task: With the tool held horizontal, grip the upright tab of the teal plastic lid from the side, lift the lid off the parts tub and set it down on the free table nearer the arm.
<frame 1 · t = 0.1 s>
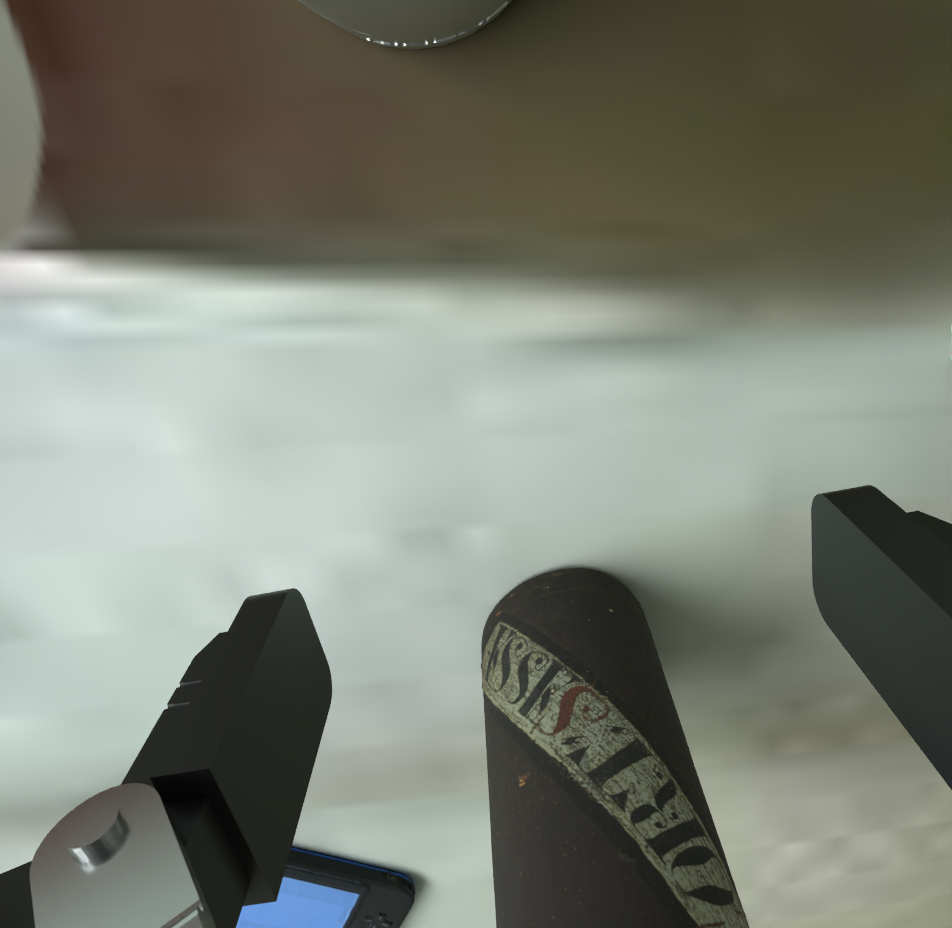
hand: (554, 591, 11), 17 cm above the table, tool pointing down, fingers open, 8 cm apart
handheld game console: (273, 900, 44), on the table
container: (563, 634, 34), on the table
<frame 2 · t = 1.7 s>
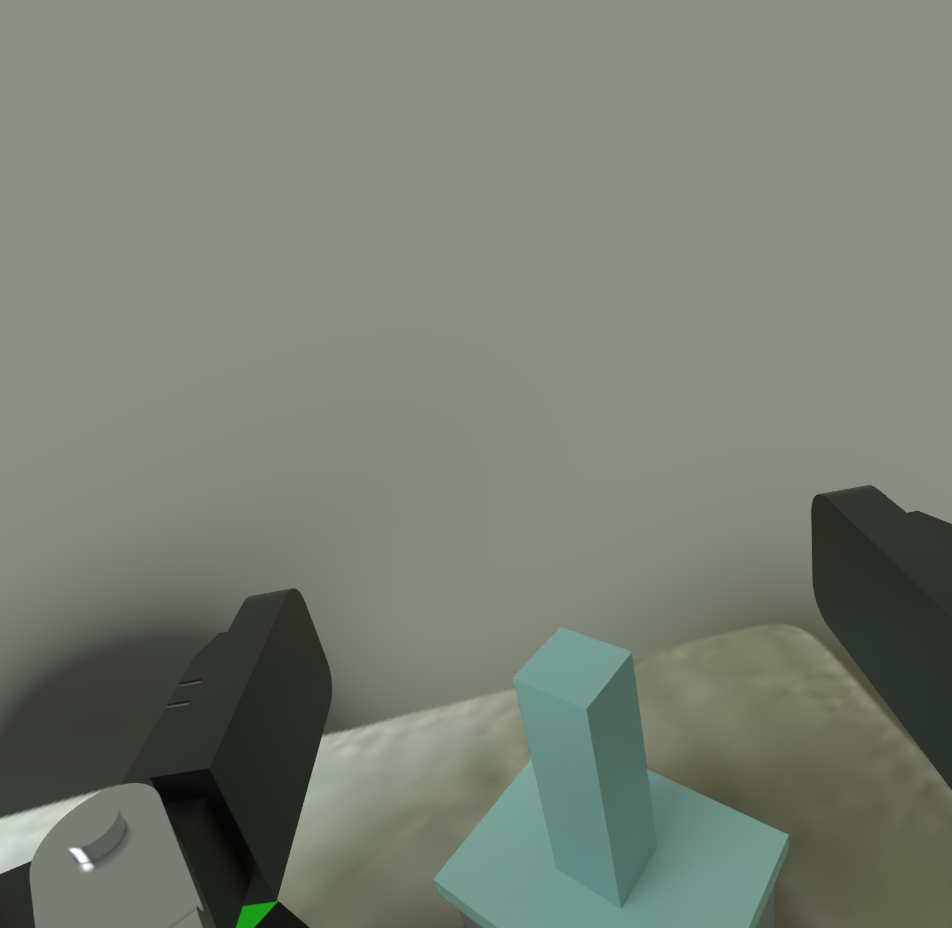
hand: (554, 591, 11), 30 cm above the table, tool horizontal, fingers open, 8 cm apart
lid: (609, 872, 30), point 7 cm above the table, touching tub
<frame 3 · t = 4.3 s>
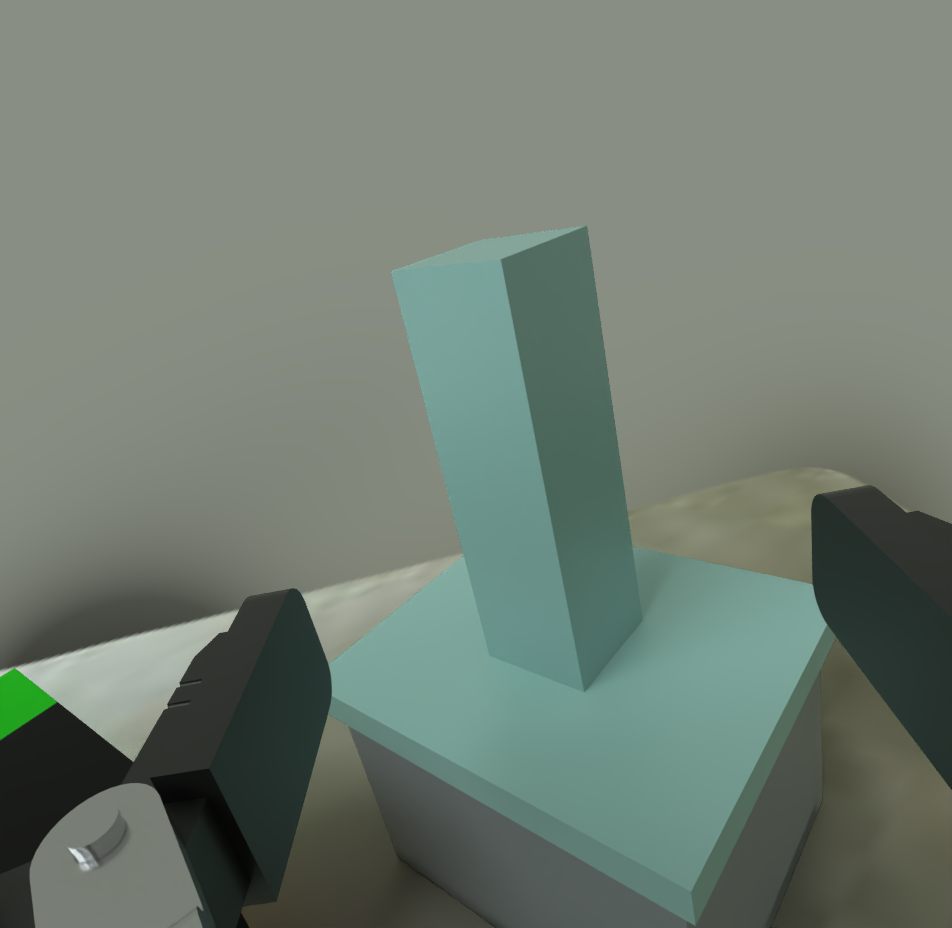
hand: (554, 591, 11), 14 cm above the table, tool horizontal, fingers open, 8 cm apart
lid: (571, 665, 20), point 7 cm above the table, touching tub
tub: (603, 829, 23), on the table
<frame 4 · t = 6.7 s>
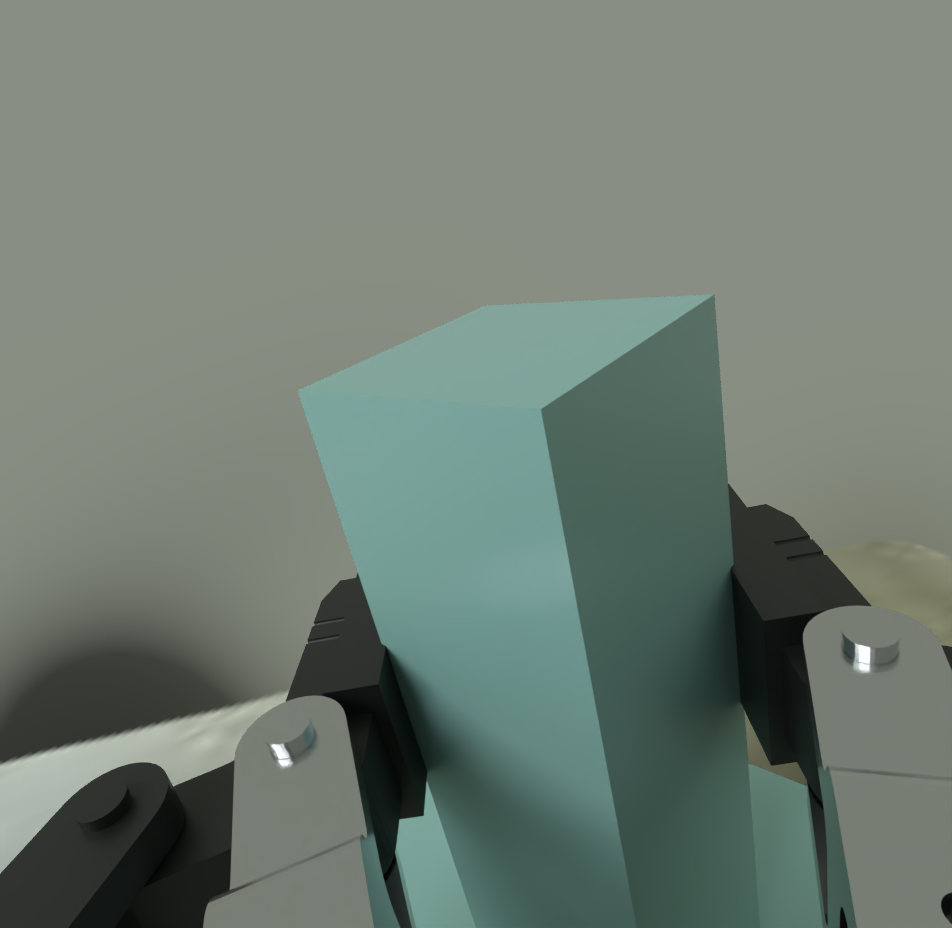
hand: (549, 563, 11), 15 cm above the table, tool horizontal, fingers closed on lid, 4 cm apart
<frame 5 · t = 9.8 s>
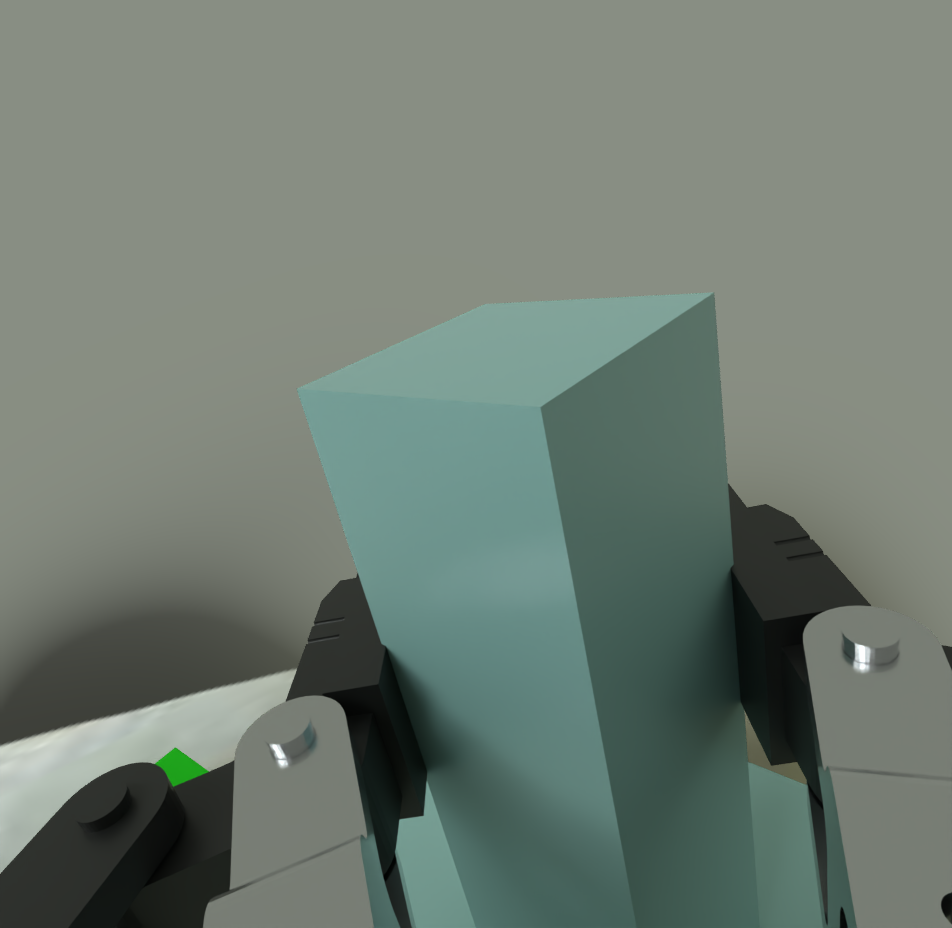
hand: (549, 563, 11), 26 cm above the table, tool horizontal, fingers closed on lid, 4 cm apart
when the fingers open (9 cm above the table, at t = 13.2 s): lid drops 2 cm, on the table.
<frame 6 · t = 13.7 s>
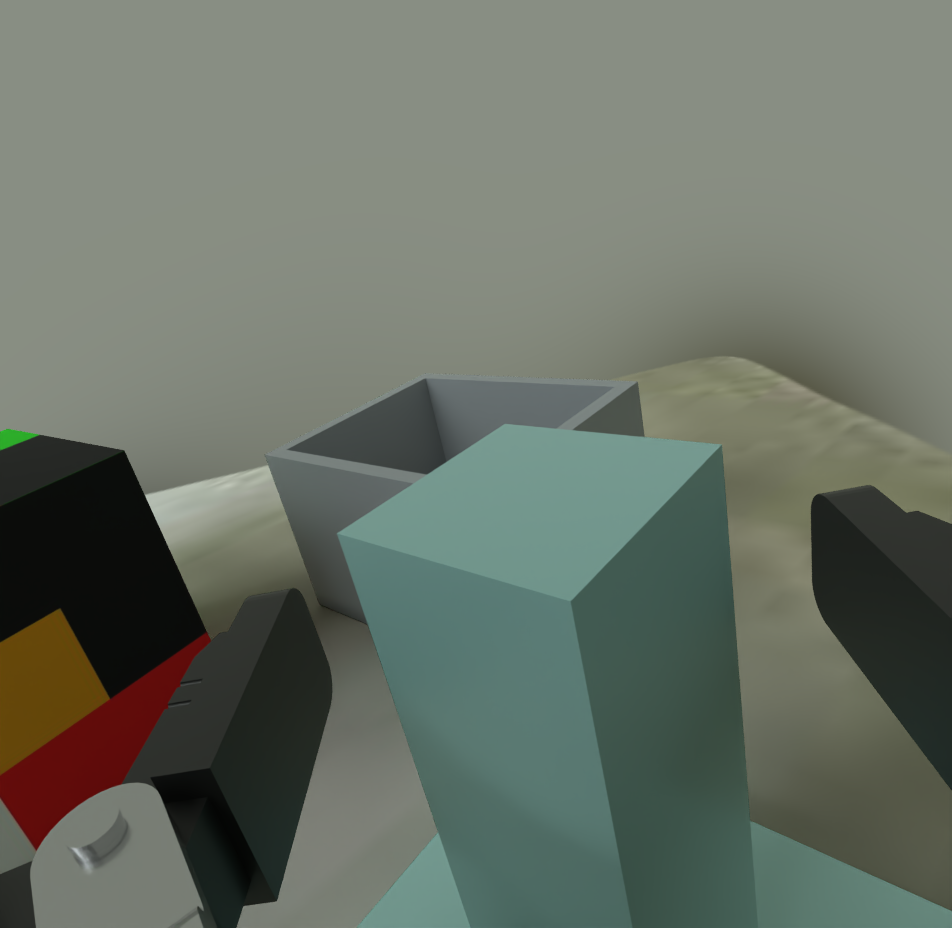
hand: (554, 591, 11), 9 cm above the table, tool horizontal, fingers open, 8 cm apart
puzzle toy: (44, 763, 24), on the table
tub: (484, 575, 28), on the table
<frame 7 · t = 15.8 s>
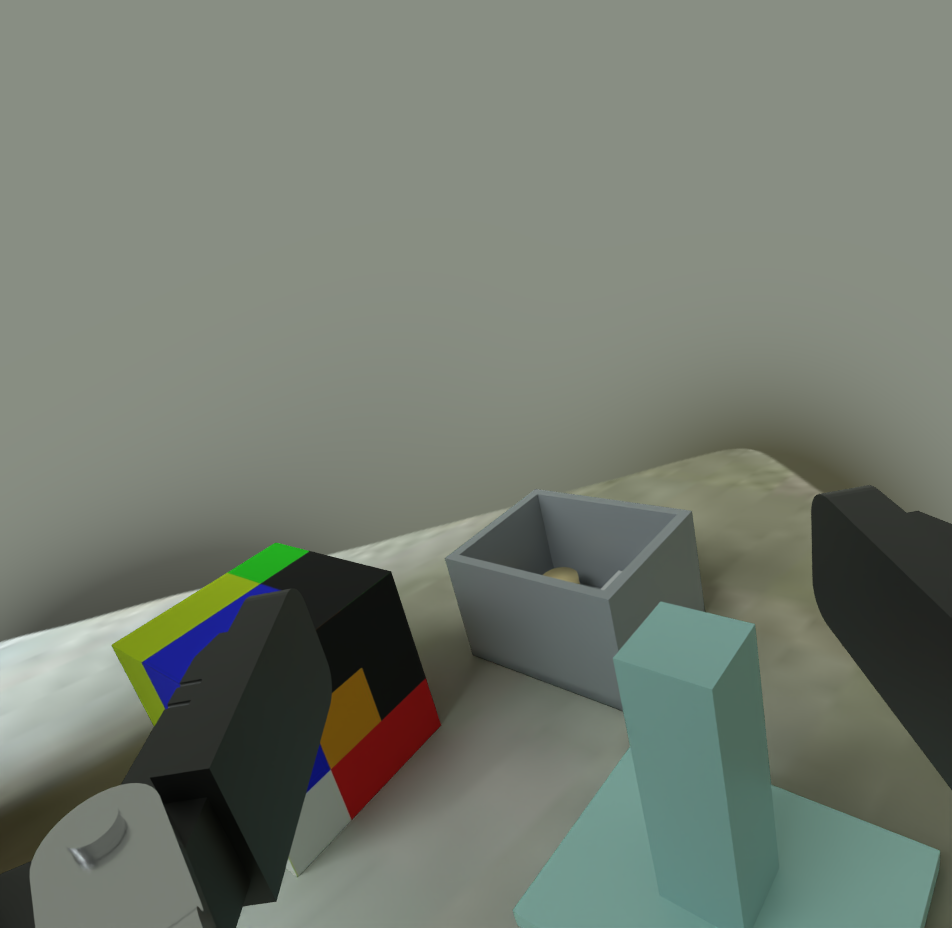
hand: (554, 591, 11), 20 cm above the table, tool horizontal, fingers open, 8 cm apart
puzzle toy: (316, 762, 37), on the table
lid: (722, 899, 26), on the table
tub: (586, 634, 41), on the table
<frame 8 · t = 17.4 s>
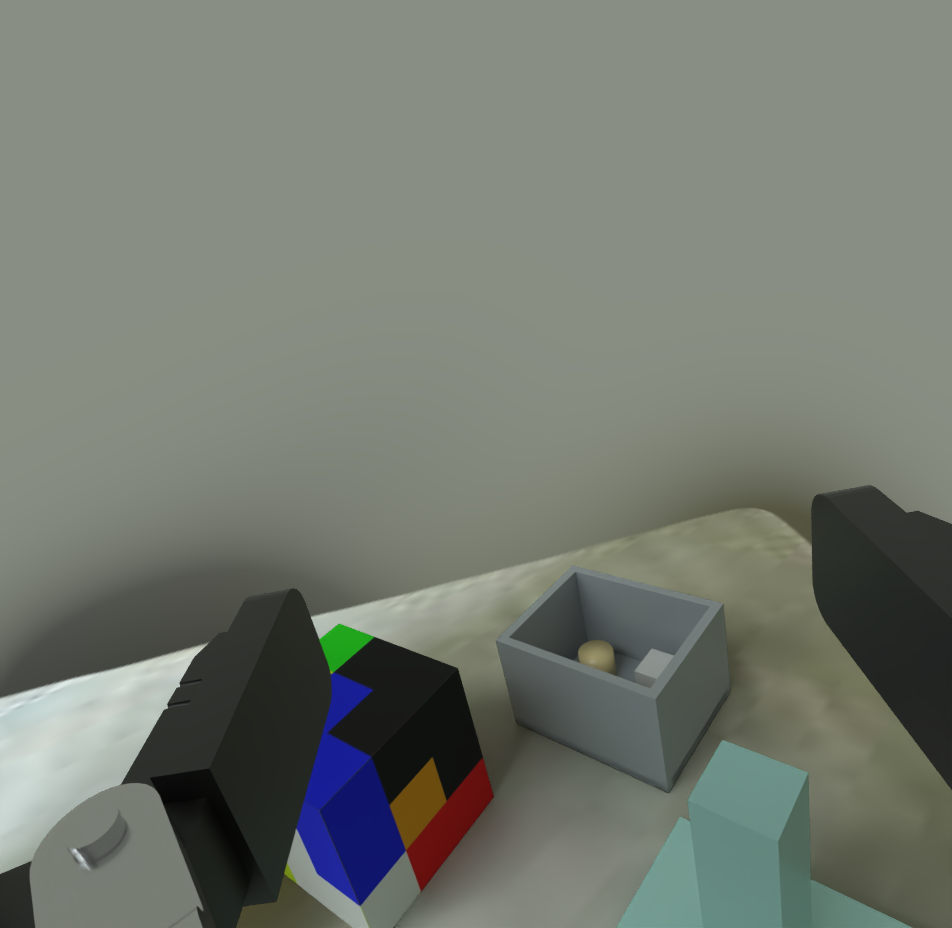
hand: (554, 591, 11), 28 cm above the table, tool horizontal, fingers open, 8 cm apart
puzzle toy: (380, 829, 41), on the table
tub: (621, 707, 45), on the table
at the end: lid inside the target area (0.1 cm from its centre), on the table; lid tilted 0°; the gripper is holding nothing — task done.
